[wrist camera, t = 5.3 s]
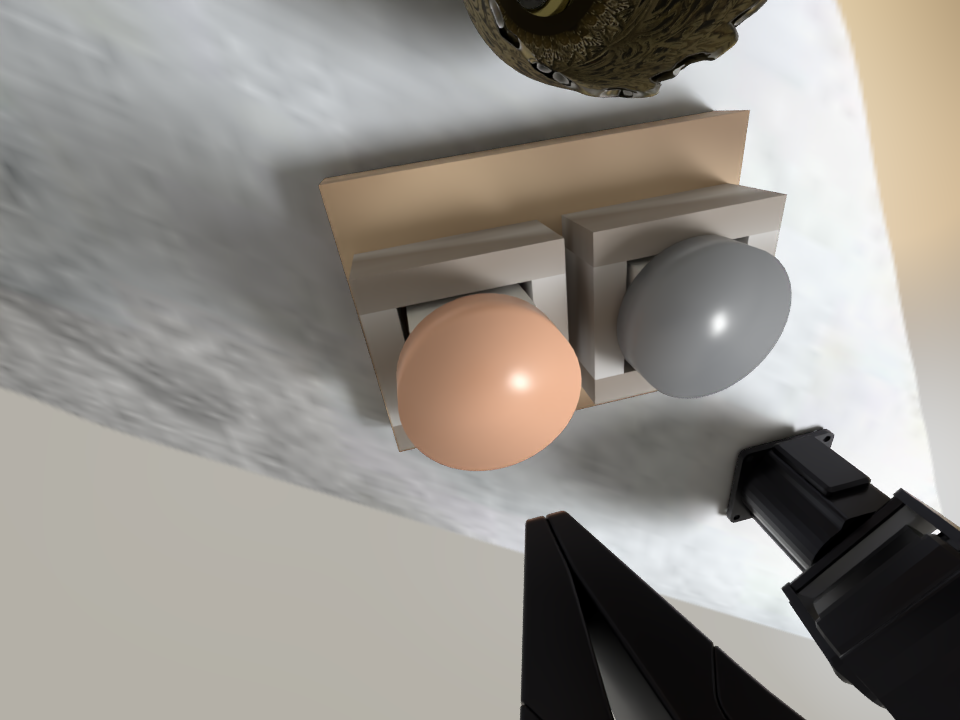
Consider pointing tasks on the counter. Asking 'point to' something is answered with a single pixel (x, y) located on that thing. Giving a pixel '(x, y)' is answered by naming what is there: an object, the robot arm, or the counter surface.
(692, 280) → the plunger grey
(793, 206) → the counter surface
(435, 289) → the button board
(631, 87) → the cup
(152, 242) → the counter surface
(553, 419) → the plunger terracotta
